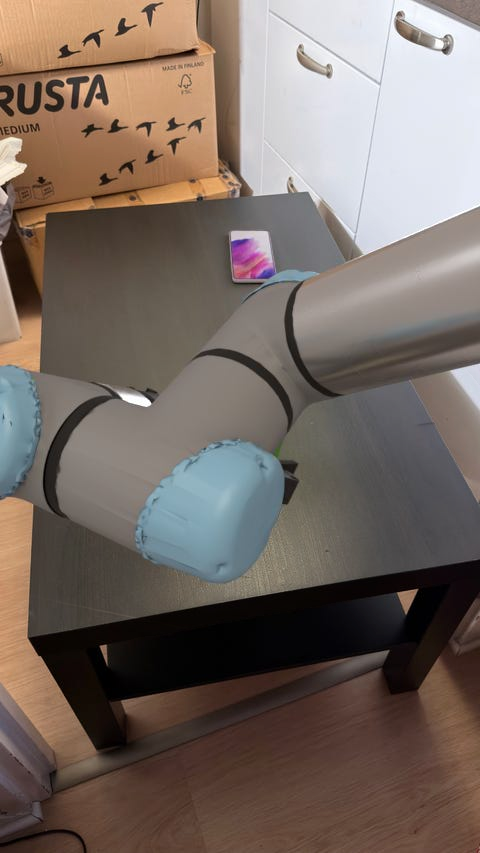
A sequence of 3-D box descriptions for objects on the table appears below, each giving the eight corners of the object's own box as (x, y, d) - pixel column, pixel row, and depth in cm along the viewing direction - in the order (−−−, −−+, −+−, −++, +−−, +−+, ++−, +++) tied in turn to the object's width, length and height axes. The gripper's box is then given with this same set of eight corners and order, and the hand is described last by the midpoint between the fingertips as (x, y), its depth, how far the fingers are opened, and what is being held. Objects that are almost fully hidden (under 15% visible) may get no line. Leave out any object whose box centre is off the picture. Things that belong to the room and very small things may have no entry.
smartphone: (269, 229, 109) (277, 279, 99) (269, 234, 110) (277, 284, 100) (228, 229, 109) (232, 279, 99) (228, 234, 109) (232, 284, 99)
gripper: (-7, 411, 52) (133, 424, 72) (236, 567, 43) (321, 533, 62) (27, 329, 51) (160, 364, 70) (283, 470, 42) (355, 466, 61)
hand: (236, 443), depth 66 cm, fingers open, 13 cm apart
